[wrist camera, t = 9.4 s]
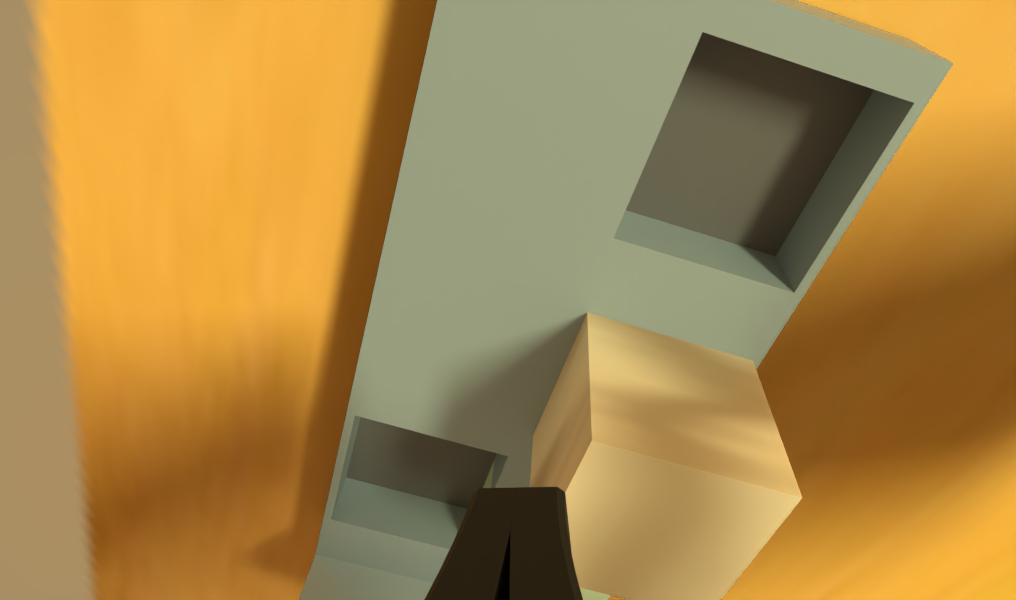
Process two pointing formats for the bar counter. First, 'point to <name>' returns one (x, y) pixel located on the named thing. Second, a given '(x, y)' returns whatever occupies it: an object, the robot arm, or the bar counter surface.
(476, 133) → the board
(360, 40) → the bar counter surface
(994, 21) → the bar counter surface
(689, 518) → the beech block
